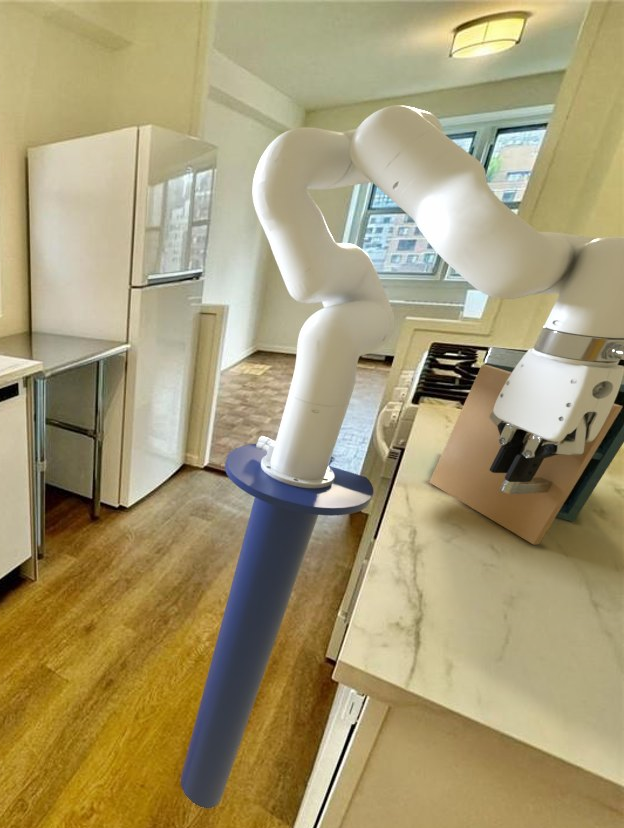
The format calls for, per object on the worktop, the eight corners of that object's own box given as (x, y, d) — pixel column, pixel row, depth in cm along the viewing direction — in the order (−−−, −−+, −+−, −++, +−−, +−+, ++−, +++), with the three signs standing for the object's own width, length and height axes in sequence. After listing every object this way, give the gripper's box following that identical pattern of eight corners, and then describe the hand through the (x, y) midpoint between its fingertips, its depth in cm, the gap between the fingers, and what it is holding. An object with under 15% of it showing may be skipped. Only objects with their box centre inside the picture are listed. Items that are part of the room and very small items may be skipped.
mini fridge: (573, 522, 76) (657, 389, 66) (431, 481, 87) (485, 362, 77) (569, 489, 85) (642, 368, 75) (441, 456, 96) (490, 347, 86)
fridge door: (494, 547, 70) (572, 407, 60) (396, 483, 86) (445, 365, 76) (539, 544, 71) (623, 406, 61) (433, 482, 86) (487, 364, 77)
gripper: (687, 365, 52) (595, 508, 60) (546, 332, 66) (487, 451, 75) (618, 365, 52) (535, 507, 60) (492, 331, 66) (439, 450, 74)
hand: (509, 475), depth 67 cm, fingers closed on fridge door
